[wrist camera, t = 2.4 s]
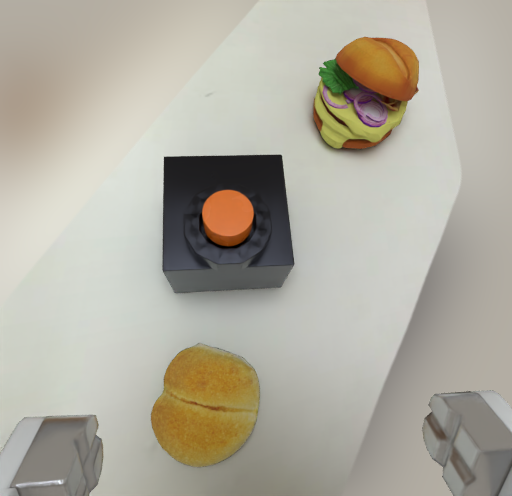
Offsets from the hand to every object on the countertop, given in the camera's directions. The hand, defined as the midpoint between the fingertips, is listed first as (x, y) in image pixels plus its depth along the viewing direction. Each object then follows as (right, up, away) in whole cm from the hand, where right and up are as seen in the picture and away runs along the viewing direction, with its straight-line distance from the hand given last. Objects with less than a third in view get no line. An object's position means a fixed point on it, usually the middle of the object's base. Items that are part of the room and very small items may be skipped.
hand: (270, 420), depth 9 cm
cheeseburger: (+11, +20, +34) cm, 41 cm away
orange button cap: (-2, +6, +19) cm, 20 cm away
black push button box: (-3, +5, +27) cm, 28 cm away
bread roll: (-5, -9, +23) cm, 25 cm away
